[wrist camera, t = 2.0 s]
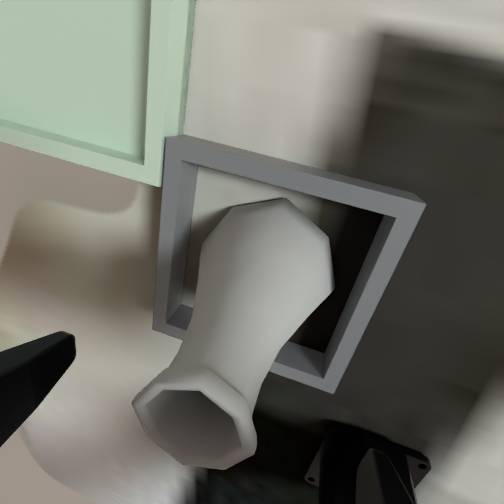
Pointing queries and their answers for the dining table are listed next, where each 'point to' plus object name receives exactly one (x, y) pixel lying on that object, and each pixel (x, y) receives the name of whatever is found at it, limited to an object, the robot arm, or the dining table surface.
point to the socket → (299, 179)
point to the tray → (96, 80)
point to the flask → (236, 331)
